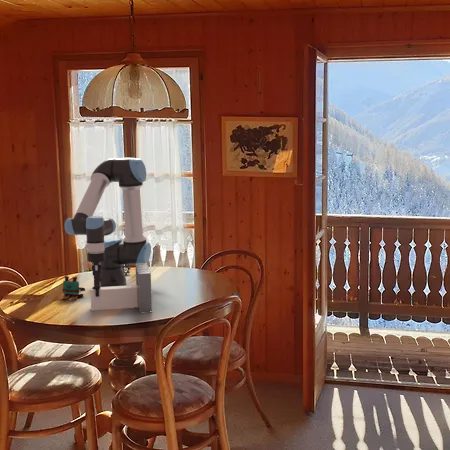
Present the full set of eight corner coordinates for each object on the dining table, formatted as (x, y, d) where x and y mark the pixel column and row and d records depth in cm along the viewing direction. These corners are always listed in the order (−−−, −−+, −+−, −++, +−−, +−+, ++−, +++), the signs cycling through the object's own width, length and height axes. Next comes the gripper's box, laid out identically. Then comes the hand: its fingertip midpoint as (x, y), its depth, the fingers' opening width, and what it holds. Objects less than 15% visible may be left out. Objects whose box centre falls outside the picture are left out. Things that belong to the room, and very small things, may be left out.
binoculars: (88, 275, 297) (75, 277, 288) (87, 297, 298) (75, 300, 288) (72, 274, 301) (59, 276, 291) (71, 295, 301) (59, 298, 292)
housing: (140, 313, 266) (138, 273, 264) (136, 299, 290) (135, 263, 287) (151, 312, 267) (150, 273, 265) (147, 298, 291) (146, 262, 288)
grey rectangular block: (91, 310, 271) (90, 290, 270) (91, 307, 276) (90, 287, 275) (144, 307, 276) (143, 287, 275) (143, 304, 281) (142, 284, 280)
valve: (107, 273, 347) (121, 276, 340) (106, 262, 346) (121, 264, 339) (116, 271, 352) (130, 274, 345) (115, 260, 352) (130, 262, 344)
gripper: (87, 248, 282) (89, 293, 285) (86, 257, 258) (88, 307, 261) (104, 247, 284) (105, 292, 287) (105, 256, 260) (106, 306, 262)
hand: (97, 299), depth 274 cm, fingers open, 13 cm apart
